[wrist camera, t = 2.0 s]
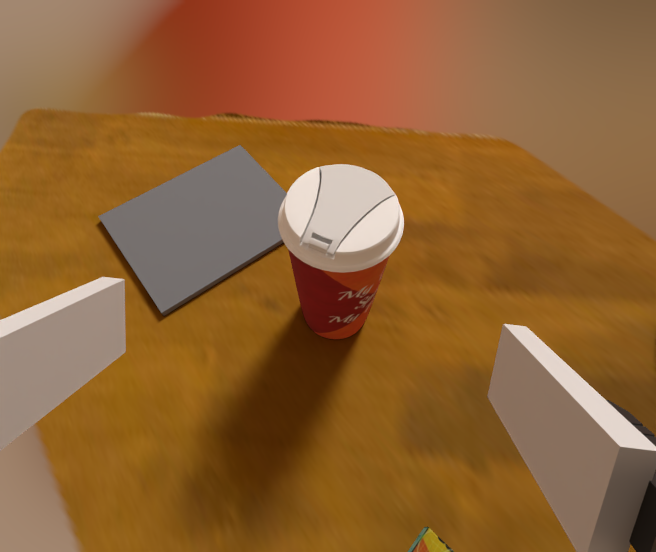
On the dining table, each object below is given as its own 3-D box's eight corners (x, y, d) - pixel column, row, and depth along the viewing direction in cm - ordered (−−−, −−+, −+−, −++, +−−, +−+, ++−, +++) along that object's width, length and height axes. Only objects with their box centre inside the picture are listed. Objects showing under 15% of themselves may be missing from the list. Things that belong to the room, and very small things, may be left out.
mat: (241, 149, 47) (240, 144, 46) (313, 224, 42) (312, 220, 41) (101, 220, 42) (98, 216, 41) (163, 316, 37) (161, 313, 36)
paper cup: (357, 367, 35) (377, 280, 23) (274, 328, 36) (251, 228, 24) (393, 290, 38) (426, 180, 26) (316, 258, 40) (313, 141, 28)
